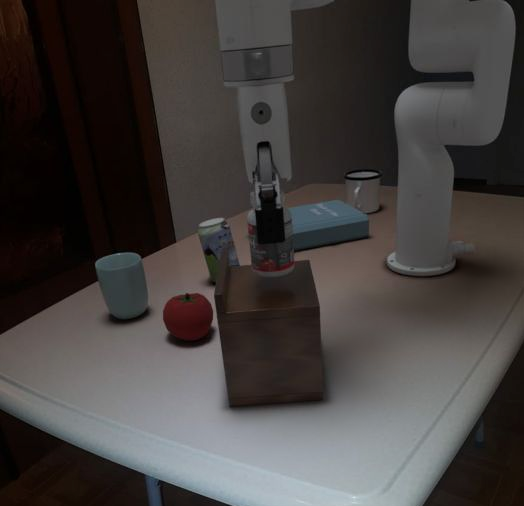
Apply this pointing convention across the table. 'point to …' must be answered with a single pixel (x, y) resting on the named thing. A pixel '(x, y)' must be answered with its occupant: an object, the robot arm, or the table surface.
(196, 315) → the tomato
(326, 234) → the book
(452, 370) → the table surface
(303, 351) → the wooden box
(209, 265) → the beverage can
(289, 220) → the pill bottle
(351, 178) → the mug
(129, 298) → the cup
